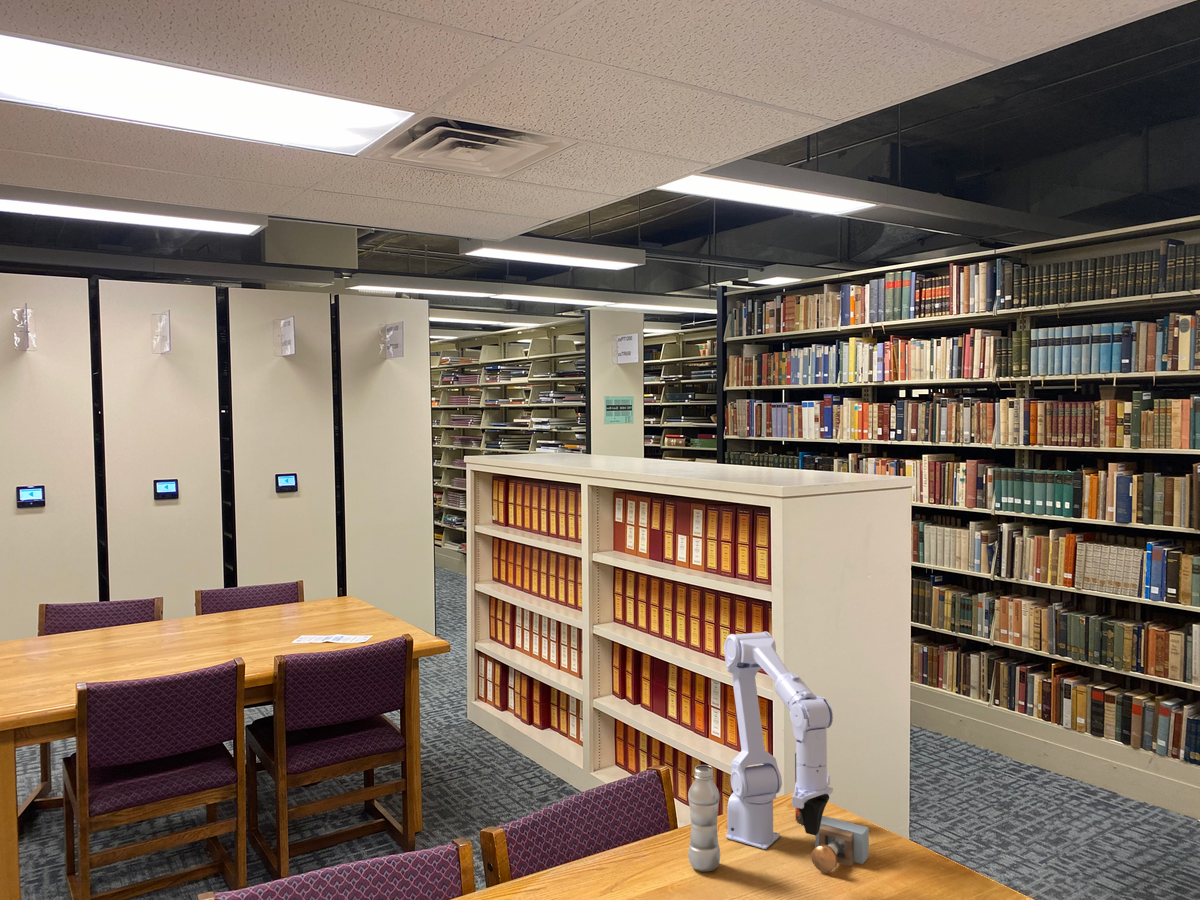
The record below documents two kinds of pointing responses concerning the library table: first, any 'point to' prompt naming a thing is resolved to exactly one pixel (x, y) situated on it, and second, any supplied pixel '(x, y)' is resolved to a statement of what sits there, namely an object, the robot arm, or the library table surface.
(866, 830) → the bearing block
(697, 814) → the plastic bottle
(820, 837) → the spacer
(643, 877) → the library table surface
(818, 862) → the shaft
